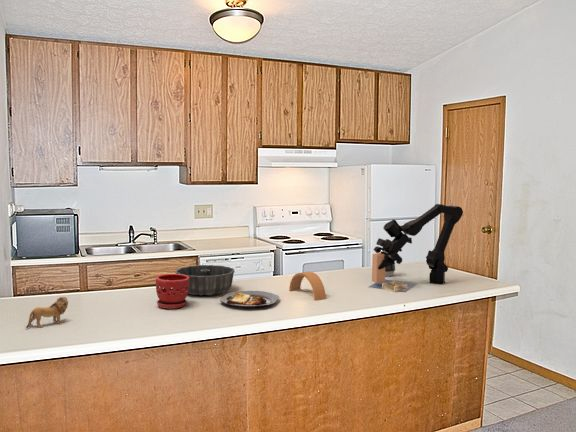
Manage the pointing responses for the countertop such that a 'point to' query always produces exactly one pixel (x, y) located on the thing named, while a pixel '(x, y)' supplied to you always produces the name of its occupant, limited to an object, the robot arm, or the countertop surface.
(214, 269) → the bundt pan
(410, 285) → the board
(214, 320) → the countertop surface
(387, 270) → the black tapered dome
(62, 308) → the lion figurine
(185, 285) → the plant pot
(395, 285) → the maple socket block
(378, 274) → the terracotta column
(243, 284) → the countertop surface
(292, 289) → the arch
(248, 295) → the food plate
